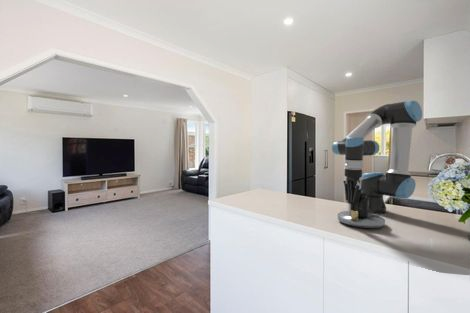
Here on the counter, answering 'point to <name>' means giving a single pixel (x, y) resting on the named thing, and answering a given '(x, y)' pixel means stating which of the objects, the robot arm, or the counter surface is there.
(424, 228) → the counter surface
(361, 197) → the supplement bottle
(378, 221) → the turntable
